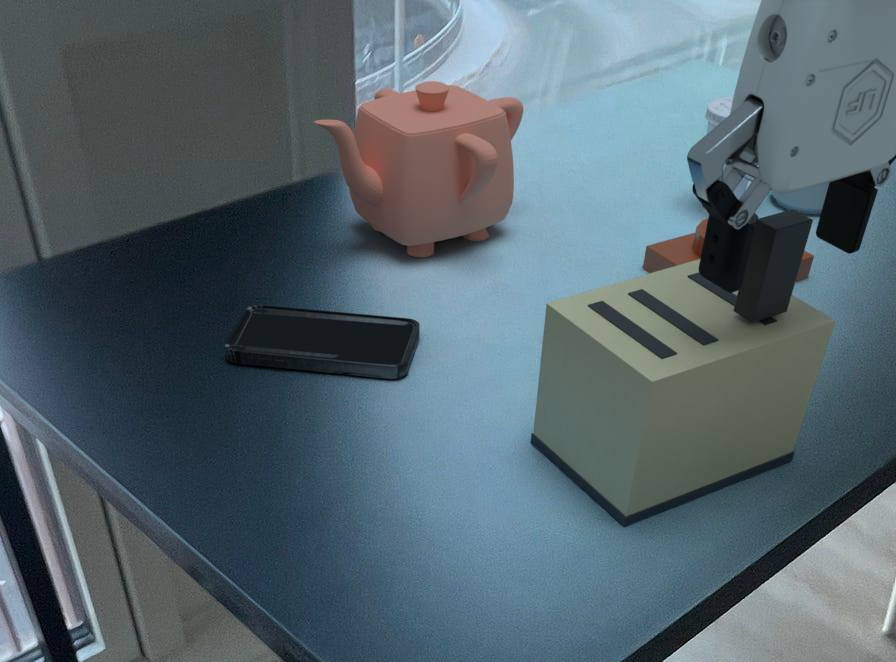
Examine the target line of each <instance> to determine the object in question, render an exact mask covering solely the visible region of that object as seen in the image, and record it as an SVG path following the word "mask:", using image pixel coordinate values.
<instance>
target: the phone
mask: <svg viewBox="0 0 896 662" xmlns="http://www.w3.org/2000/svg"><path fill="white" fill-rule="evenodd" d="M420 325H421V324H420V323H419V321H417V320H416V319H413V318H407V317H397V316H386V315H375V314H365V313H353V312H342V311H332V310H321V309H311V308H310V309H309V308H302V307H301V308H300V307H289V306H277V305H267V304H254V305H250V306H248V307H246V309H245V310H243V313H242V315H241V317H240V318H239V319H238V321H237V323H236V325H235V326H234V328H233V330H232V331H231V333H230V334H229V336H228V337H227V339H226V341H225V343H224V349H225V356H226V359H227V360H228V361H229V362H230V363H232V364H239V365H249V366H256V367H257V366H258V367H267V368H278V369H287V370H299V371H307V372H316V373H317V372H318V373H319V372H320V373H329V374H339V375H347V376H358V377H360V376H361V377H368V378H378V379H388V380H389V379H390V380H396V379H401V378H404V377H405V376H406V375H407V374H408V372H409V370H410V368H411V364H412V361H413V359H414V355H415V352H416V349H417V346H418V344H419V341H420V336H421V335H420V333H421V332H420V331H421V330H420V329H421V328H420Z"/></svg>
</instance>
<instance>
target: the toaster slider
mask: <svg viewBox="0 0 896 662" xmlns="http://www.w3.org/2000/svg"><path fill="white" fill-rule="evenodd" d="M758 218H759V219H756V221H755V225H754V227H755V228H754V235H753V240H752V244H751V248H750V253H749V257H748V261H747V266H746V270H745V274H744V279H743V283H742V286H741V288H740V290H738V294H737V298H736V302H735V306H734V312H736V313H737V314H739V315H740V316H742V317H744V318H745V319H747V320H748V321H750V322H752V323H753V322H757V321H760V320H763V319H766V318H769V317H772V316H775V315H778V314H781V313H784V312H787V309H788V306H789V302H790V299H791V295H793V291H794V289H795V288H794V287H795V285H796V282H795V281H796V278H797V274H798V271H799V267H800V264H801V260H802V257H803V254H804V251H806V250H805V249H806V245H807V243H808V239H809V236H810V232H811V229H812V226H813V223H814V220H813V219H812V218H811V217H808V216H807V215H806V214H803V213H799V212H797V211H795V210H793V209H791V210H783V211H781V212H777V213H774V214H769V215H766V216H763V217H758Z"/></svg>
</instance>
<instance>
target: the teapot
mask: <svg viewBox="0 0 896 662" xmlns="http://www.w3.org/2000/svg"><path fill="white" fill-rule="evenodd" d="M414 88H415V89H413V90H408V91H403V92H398V91H396V90H393V89H391V88H382V89H379V90H377V91H376V92H375V94H374V96H373V99H372V100H369V101H365V102H363V103H362V104H360V105H359V106H358V109H357V114H356V118H355V123H354V129H353V131H352V129H351V128H350V126H349V125H348V124H347V123H346V122H343V121H342V120H338V119H328V118H327V119H317V120H314V124H315V125H316V126H319V127H320V128H323V129H325V130H326V131H327V132H328V133H330V135H331V136H332V137H333V139H334V141H335V143H336V146H337V149H338V155H339V160H340V161H339V162H340V167H341V171H342V176H343V179H344V181H345V183H346V185H347V187H348V188H349V189H348V191H349V195H350V199H351V202H352V206H353V207H354V210H355V213H357V214H358V215H359V216H360V217H361V218H362V219H363V220H364V221H366V222H367V223H369V224H370V225H371V227H372V229H373V230H375V231H376V232H381V233H382V234H383V235H385V236H387V237H388V238H390V239H391V240H393V241H395V242H396V243H398V244H400V245H401V246H402V245H403V246H407V247H406V253H407V255H409V256H411V257H414V258H428V257H430V256H432V255H434V254H435V243H436V242H441V241H447V240H450V239H454V238H458V237H461V236H462V238H463V239H465V240H468V241H473V242H480V241H481V242H482V241H485V240H487V239H488V238H489V237H490V234H489V232H488V230H487V228H489V227H491V226H494V225H496V224H498V223H502V222H503V221H505V220H506V218H507V216H508V214H509V212H510V209H511V206H512V203H513V200H514V191H515V190H514V189H515V183H514V182H515V181H514V180H515V173H514V172H515V171H514V156H513V147H512V140H513V139H514V137H515V135H516V133H517V131H518V130H519V128H520V125H521V122H522V120H523V114H524V105H523V103H522V101H521V100H519V99H518V98H515V97H512V96H511V97H510V96H506V97H505V96H504V97H498V98H494V99H490V100H487V99H486V98H483V97H482V96H479V95H477V94H475V93H473V92H471V91H469V90H467V89H465V88H462V87H460V86H459V85H458V86H457V85H455V84H454V85H453V84H446V83H444V82H441V81H435V80H433V81H432V80H431V81H423V82H420V83H418V84H417V85H415V87H414Z"/></svg>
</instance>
